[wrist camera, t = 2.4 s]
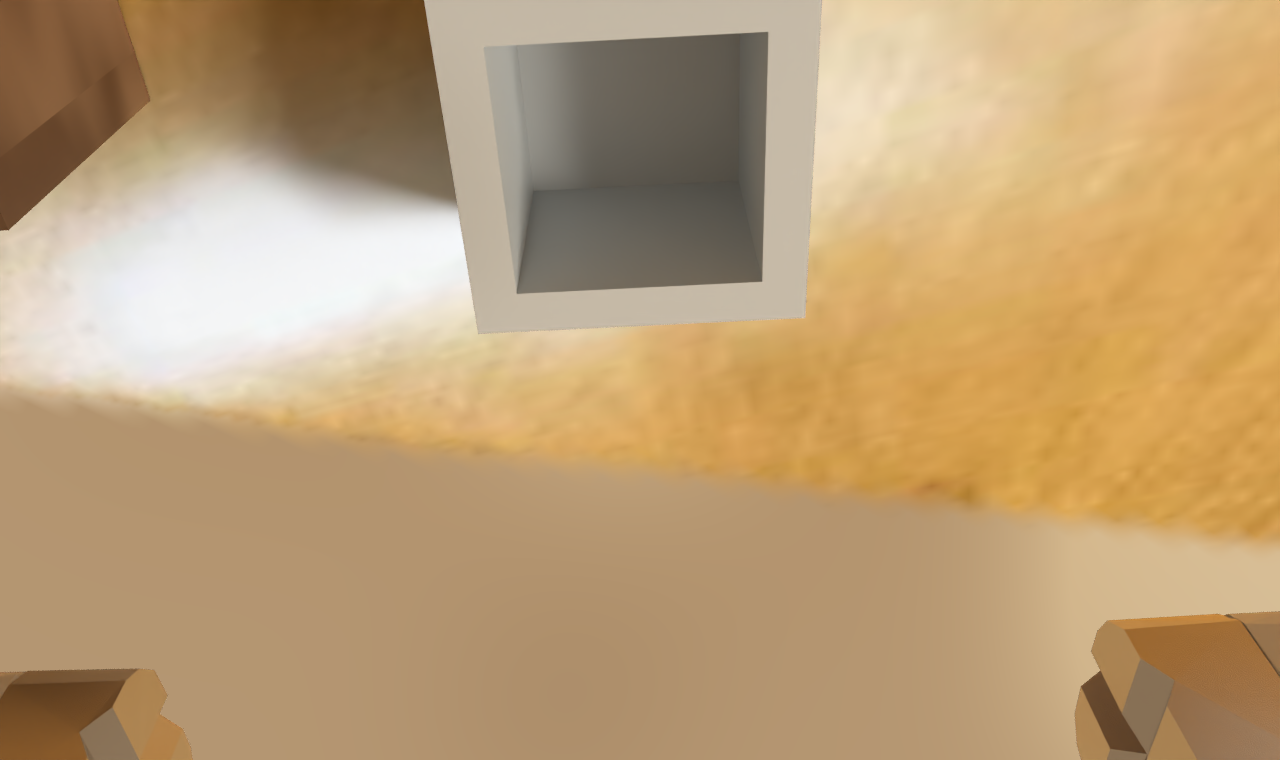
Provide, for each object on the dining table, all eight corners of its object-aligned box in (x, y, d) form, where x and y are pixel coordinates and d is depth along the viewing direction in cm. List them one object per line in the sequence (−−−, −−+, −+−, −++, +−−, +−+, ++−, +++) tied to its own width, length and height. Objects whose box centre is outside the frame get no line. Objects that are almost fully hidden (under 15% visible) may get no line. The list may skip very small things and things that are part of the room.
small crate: (464, -73, 19) (422, -4, 15) (780, -90, 19) (823, -26, 15) (503, 214, 23) (478, 333, 19) (771, 201, 23) (805, 317, 19)
